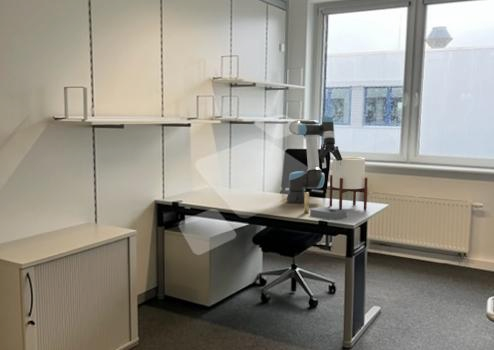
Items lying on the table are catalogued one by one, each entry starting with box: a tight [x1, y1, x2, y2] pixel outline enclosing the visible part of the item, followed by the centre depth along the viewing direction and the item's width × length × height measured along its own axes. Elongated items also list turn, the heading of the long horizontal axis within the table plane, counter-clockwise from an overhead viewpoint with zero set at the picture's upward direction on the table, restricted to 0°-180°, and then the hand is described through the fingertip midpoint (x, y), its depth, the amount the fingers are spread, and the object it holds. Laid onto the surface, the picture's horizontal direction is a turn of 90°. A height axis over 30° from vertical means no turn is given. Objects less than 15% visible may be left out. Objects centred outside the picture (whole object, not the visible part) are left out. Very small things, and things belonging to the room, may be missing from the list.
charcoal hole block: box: [309, 206, 348, 220], centre depth 318 cm, size 20×12×4 cm, turn 50°
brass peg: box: [303, 191, 310, 214], centre depth 329 cm, size 3×3×14 cm
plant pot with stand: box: [329, 156, 368, 211], centre depth 346 cm, size 22×22×36 cm
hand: (331, 169), depth 324 cm, fingers open, 13 cm apart
